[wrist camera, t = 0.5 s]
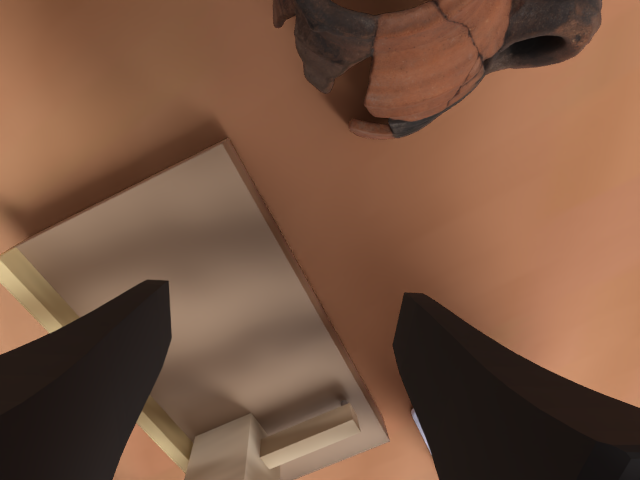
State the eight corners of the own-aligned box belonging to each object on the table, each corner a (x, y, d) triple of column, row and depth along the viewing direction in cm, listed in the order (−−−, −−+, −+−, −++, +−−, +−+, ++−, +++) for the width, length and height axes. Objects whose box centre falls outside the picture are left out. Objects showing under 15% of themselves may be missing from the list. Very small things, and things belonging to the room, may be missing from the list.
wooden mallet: (362, 417, 24) (381, 496, 20) (227, 472, 25) (214, 560, 20) (338, 376, 23) (352, 451, 18) (195, 436, 23) (173, 522, 19)
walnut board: (382, 417, 27) (395, 462, 24) (236, 476, 28) (230, 527, 25) (228, 137, 18) (216, 149, 15) (26, 238, 20) (-24, 268, 16)
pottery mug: (298, 154, 20) (240, 74, 12) (309, -15, 20) (262, -203, 12) (543, 156, 18) (680, 62, 10) (547, -31, 18) (680, -268, 10)
